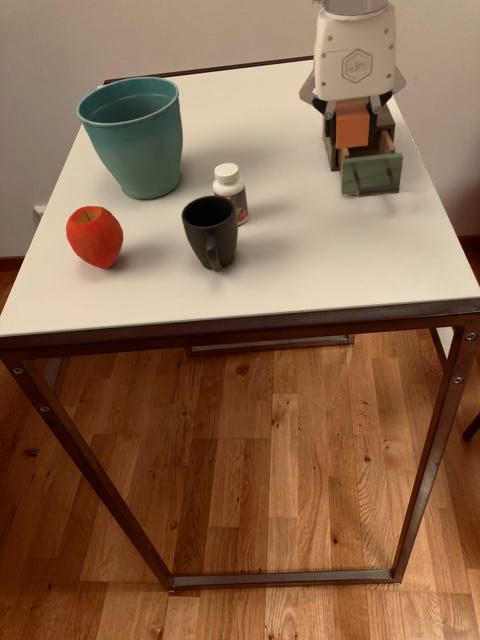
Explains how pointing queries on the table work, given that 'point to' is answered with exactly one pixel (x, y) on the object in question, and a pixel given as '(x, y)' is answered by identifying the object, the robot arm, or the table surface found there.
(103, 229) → the apple
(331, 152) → the cabinet
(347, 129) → the block
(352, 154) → the drawer
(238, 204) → the pill bottle
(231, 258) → the mug
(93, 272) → the table surface
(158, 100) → the flower pot
